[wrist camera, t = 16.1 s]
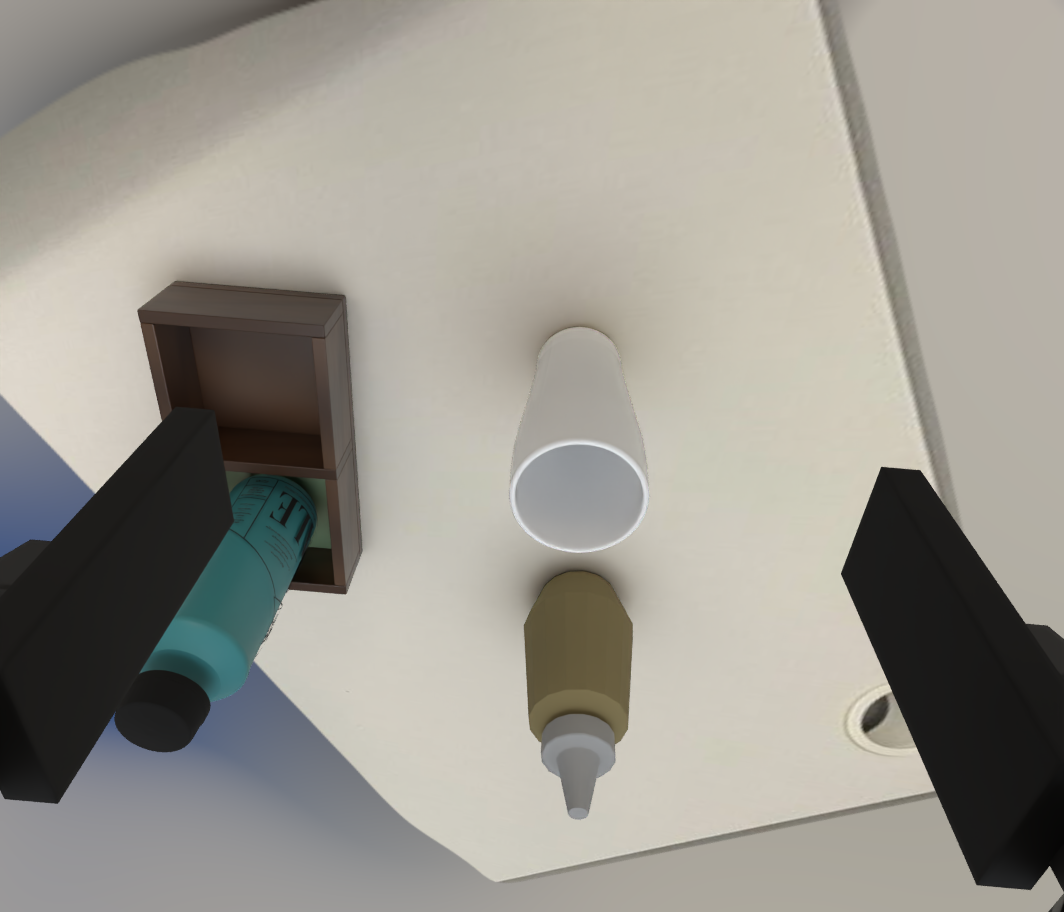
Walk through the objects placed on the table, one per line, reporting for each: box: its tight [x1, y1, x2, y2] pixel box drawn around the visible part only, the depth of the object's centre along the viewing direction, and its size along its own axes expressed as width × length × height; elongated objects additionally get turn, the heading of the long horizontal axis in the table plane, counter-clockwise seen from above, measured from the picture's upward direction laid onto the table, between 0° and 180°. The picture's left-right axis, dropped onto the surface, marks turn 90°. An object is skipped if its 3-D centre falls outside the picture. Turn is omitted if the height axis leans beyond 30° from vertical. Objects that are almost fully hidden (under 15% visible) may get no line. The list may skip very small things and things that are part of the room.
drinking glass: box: [509, 327, 649, 553], centre depth 42 cm, size 7×7×15 cm
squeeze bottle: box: [524, 571, 633, 819], centre depth 52 cm, size 8×8×18 cm
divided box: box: [138, 281, 362, 594], centre depth 50 cm, size 20×11×5 cm, turn 176°
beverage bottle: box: [114, 474, 318, 752], centre depth 46 cm, size 6×7×20 cm
